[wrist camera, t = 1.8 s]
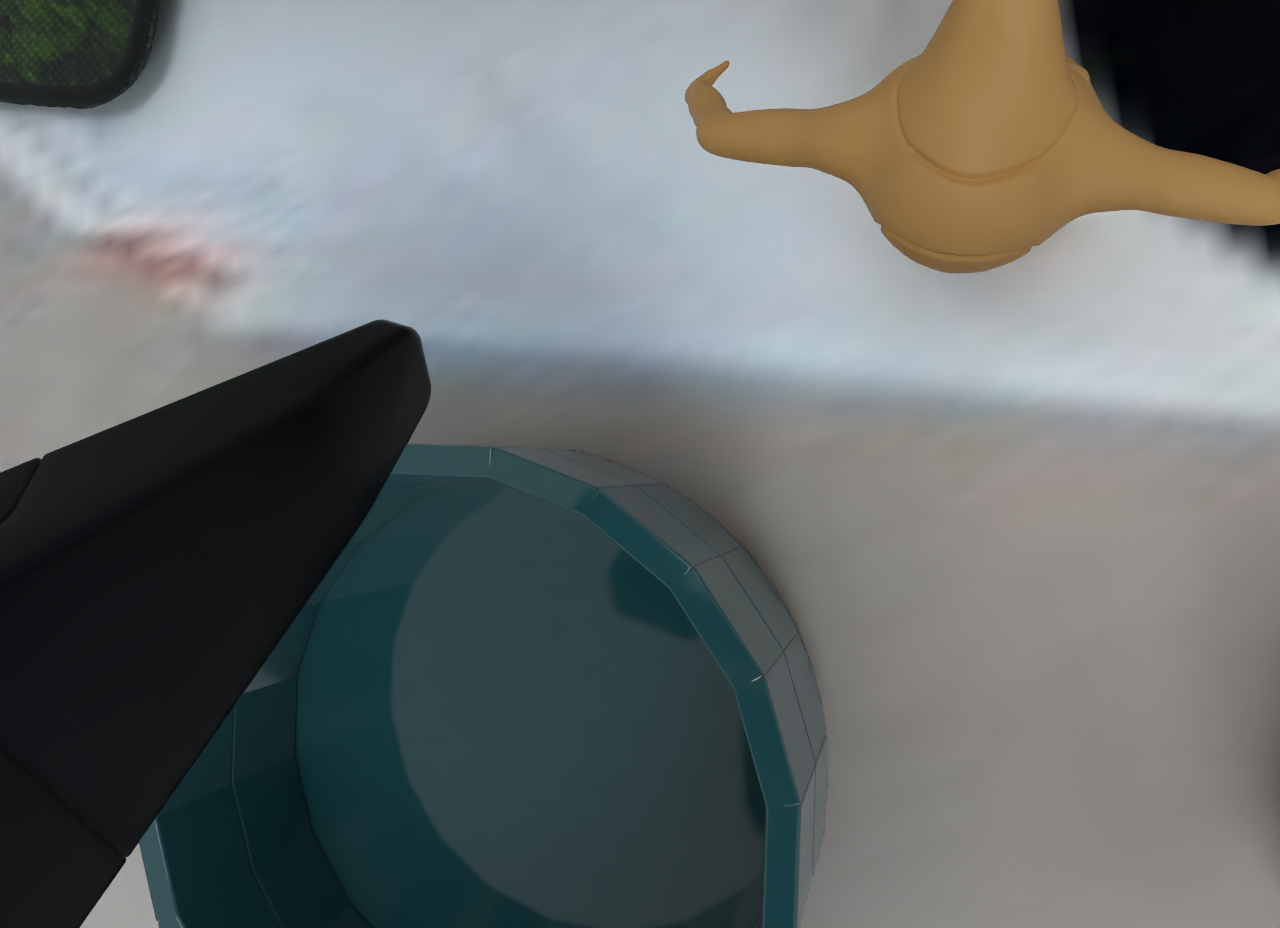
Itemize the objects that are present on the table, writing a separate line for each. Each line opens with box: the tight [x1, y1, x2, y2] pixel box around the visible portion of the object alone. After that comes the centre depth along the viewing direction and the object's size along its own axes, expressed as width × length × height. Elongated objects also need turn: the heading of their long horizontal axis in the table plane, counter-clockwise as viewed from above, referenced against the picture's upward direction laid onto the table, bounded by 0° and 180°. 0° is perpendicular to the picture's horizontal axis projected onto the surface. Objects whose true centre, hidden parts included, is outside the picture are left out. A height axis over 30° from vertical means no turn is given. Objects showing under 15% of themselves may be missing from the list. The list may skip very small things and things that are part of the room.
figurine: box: [685, 0, 1280, 273], centre depth 14 cm, size 8×6×12 cm
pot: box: [139, 444, 828, 928], centre depth 20 cm, size 14×14×5 cm
